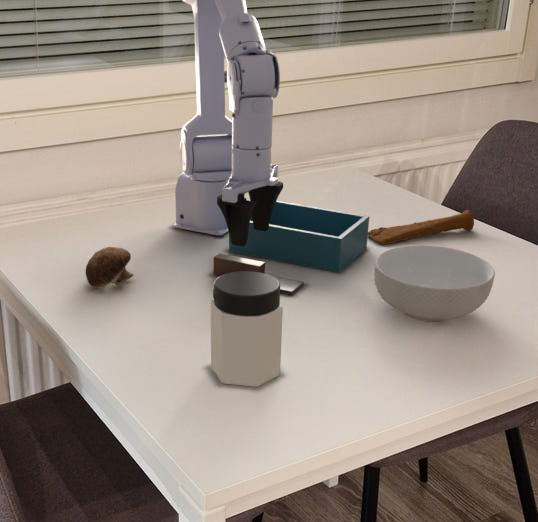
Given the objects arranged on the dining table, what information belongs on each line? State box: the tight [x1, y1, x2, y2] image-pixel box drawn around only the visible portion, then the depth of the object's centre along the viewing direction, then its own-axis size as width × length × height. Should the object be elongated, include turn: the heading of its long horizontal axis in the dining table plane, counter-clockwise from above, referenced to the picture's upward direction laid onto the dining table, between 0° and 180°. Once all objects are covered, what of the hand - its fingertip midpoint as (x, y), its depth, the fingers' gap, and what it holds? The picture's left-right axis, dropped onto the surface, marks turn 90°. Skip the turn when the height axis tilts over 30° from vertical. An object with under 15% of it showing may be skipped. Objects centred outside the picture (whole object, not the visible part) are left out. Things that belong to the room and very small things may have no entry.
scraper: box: [213, 252, 305, 296], centre depth 147 cm, size 14×5×3 cm, turn 64°
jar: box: [210, 271, 284, 388], centre depth 119 cm, size 9×8×12 cm
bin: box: [228, 200, 370, 273], centre depth 159 cm, size 20×13×6 cm, turn 64°
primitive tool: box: [368, 209, 475, 245], centre depth 167 cm, size 19×6×4 cm, turn 113°
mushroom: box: [85, 246, 134, 289], centre depth 144 cm, size 8×8×6 cm
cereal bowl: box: [373, 244, 496, 323], centre depth 138 cm, size 17×17×7 cm
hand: (250, 237), depth 145 cm, fingers open, 7 cm apart
